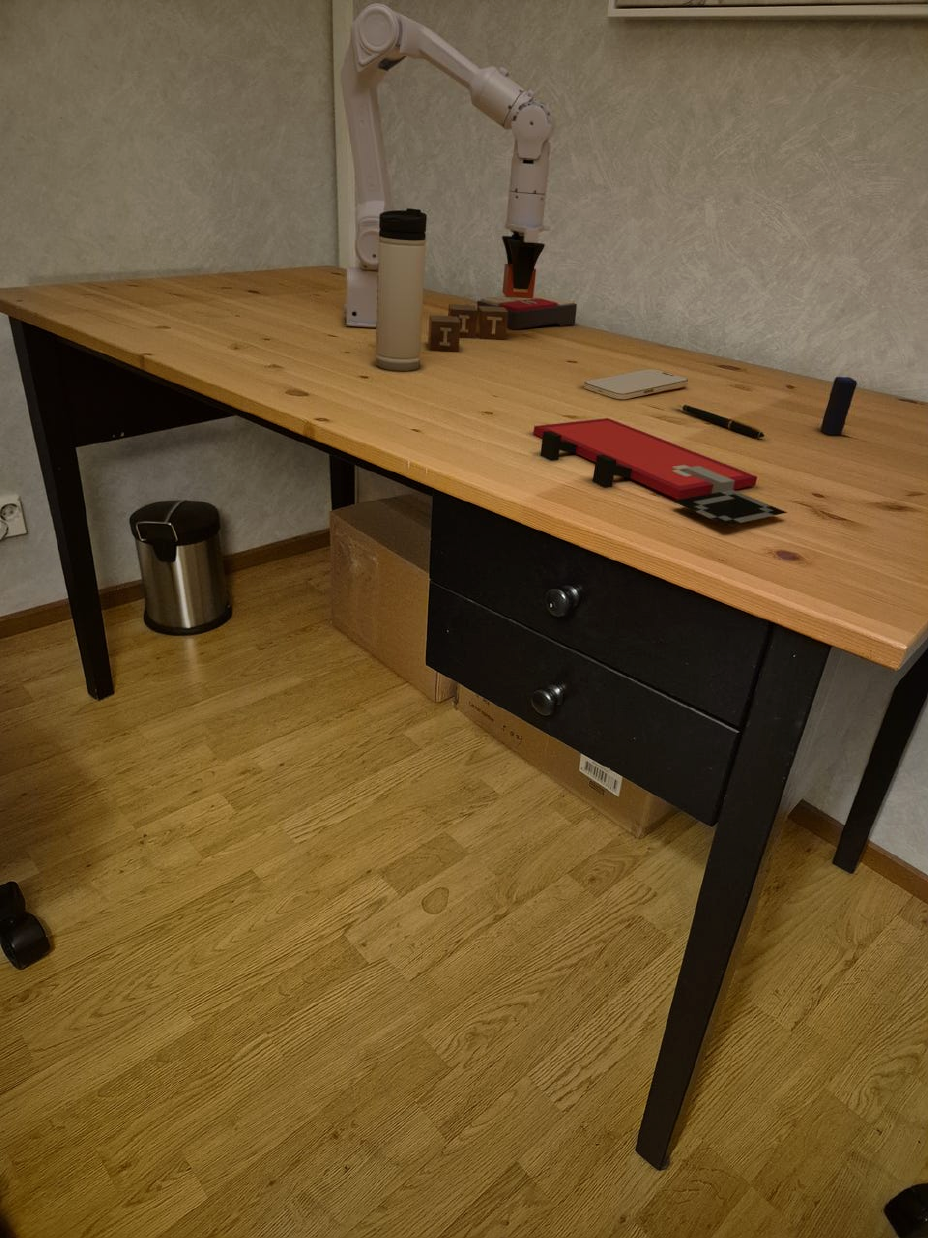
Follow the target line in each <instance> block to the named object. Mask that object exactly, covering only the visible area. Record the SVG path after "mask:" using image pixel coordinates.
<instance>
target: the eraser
mask: <svg viewBox="0 0 928 1238" xmlns="http://www.w3.org/2000/svg"><path fill="white" fill-rule="evenodd" d="M857 385H858V381H857V380H855V379H853V378H852V377H849V376H835V378H834V381H833V384H832V386H831V390H830V393H829V398H828V402H827V405H826V408H825V410H824V414H823V417H822V421H821V427H820V431H821V433H823V434H825V435H827V436H835V437H839V436H841V434H842V432H843V430H844V427H845V423H846V420H847V416H848V414H849V410H850V407H851V405H852V400H853V397H854V394H855V391H856V388H857Z"/></svg>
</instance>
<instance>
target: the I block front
mask: <svg viewBox="0 0 928 1238" xmlns="http://www.w3.org/2000/svg"><path fill="white" fill-rule="evenodd" d="M460 325H461V322H460V320H459V318H458V317H452V316H448V315H434V314H430V315H429V321H428V339H427V345H428V349H429V351H432V352H449V353H450V352H452V353H459V352H460V340H461V339H460V338H461V337H460Z"/></svg>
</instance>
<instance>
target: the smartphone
mask: <svg viewBox="0 0 928 1238" xmlns="http://www.w3.org/2000/svg"><path fill="white" fill-rule="evenodd" d="M688 382H689V379H688V378H686V377H683V376H680V375H676V374H673V373H668V372H666V371H661V370H658V369H656V368H655V369H654V368H645V369H640V370H635V371H631V372H630V371H629V372H625V373H621V374H614V375H610V376H605V377H599V378H594V379H590V380H585V381H584V385H583V388H584V389H585V390H588V391H591V392H595V393H597V394H600V395H603V396H606V397H609V398H613V399H615V400H616V399H617V400H628V399H633V398H637V397H642V396H647V395H650V394H655V393H660V392H665V391H671V390H677V389H681V388H683V387H687V386H688Z"/></svg>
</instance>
